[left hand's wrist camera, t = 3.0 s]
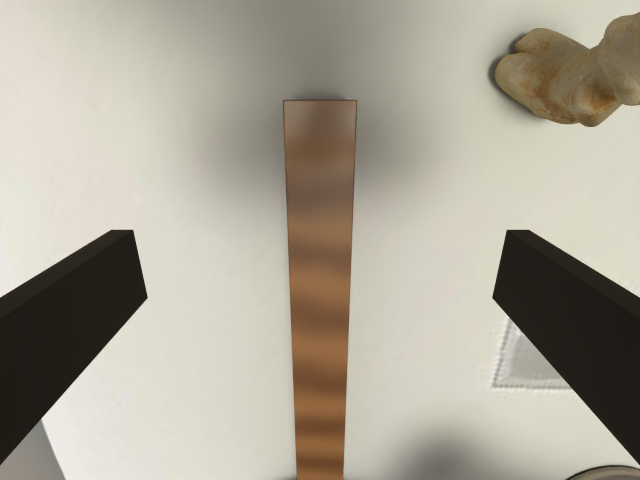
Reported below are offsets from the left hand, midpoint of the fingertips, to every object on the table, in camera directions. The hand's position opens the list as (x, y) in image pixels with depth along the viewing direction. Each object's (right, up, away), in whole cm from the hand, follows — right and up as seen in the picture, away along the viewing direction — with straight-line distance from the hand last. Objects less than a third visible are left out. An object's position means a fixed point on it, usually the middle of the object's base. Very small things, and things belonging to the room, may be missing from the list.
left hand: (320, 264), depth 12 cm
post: (0, -12, +27) cm, 30 cm away
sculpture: (+18, +14, +17) cm, 28 cm away
